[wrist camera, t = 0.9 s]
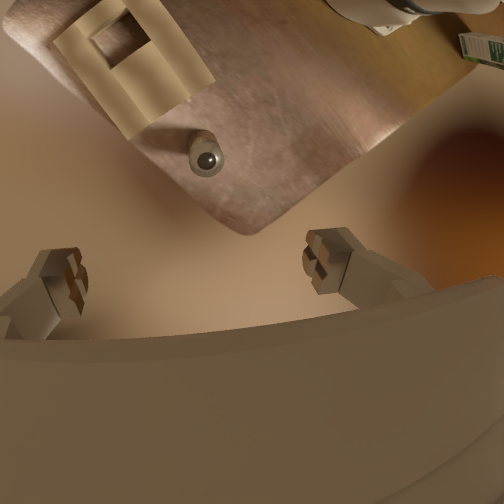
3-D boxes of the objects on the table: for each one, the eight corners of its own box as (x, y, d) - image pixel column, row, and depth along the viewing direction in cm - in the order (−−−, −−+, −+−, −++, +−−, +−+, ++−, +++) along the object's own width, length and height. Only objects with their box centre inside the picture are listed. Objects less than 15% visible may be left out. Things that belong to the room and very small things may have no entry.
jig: (143, -18, 23) (140, -25, 20) (213, 79, 33) (215, 80, 31) (62, 42, 24) (52, 41, 22) (132, 134, 35) (128, 140, 33)
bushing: (206, 124, 37) (212, 138, 31) (222, 146, 40) (230, 165, 33) (182, 140, 38) (182, 157, 31) (198, 161, 40) (201, 183, 34)
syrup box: (456, 33, 32) (517, 44, 20) (472, 31, 31) (529, 44, 20) (462, 59, 35) (521, 76, 24) (477, 56, 35) (533, 73, 23)
